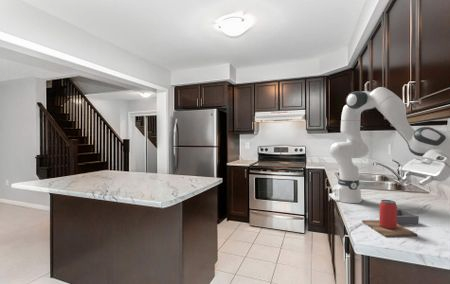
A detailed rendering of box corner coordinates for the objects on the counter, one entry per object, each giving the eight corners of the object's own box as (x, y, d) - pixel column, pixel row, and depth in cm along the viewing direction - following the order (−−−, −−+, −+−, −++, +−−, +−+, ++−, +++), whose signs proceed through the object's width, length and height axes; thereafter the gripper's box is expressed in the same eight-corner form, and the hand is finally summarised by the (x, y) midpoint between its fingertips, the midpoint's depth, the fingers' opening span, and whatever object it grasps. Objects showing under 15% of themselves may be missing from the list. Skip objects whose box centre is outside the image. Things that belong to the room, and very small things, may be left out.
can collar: (380, 216, 121) (380, 209, 121) (400, 216, 121) (400, 208, 121) (396, 224, 110) (396, 216, 110) (418, 224, 110) (418, 216, 110)
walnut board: (362, 222, 113) (362, 220, 113) (389, 221, 113) (389, 220, 113) (385, 236, 97) (385, 234, 97) (417, 236, 97) (417, 234, 97)
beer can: (388, 230, 101) (389, 203, 101) (375, 224, 108) (376, 199, 107) (400, 228, 103) (400, 202, 102) (387, 223, 109) (387, 198, 109)
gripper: (410, 154, 115) (390, 173, 115) (451, 158, 94) (427, 182, 94) (418, 162, 115) (399, 182, 115) (461, 169, 94) (437, 192, 95)
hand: (412, 182), depth 105 cm, fingers open, 8 cm apart
